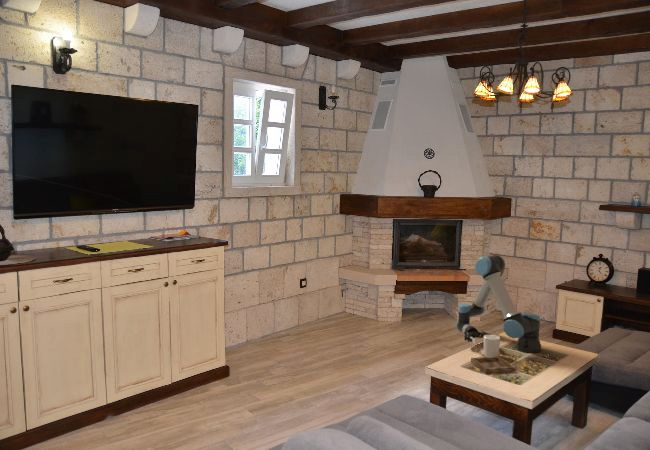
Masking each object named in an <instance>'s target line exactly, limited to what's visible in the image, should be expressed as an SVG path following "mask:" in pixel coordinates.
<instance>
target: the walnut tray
mask: <svg viewBox="0 0 650 450" xmlns="http://www.w3.org/2000/svg"><path fill="white" fill-rule="evenodd" d="M470 363H471V364H472V365H473V366H475V367H476V368H478V369H479V370H480V371H482V372H483V373H484V374H486V375H487V374H498V373H499V374H500V373H502V374H503V373H513V372H516V366H514V365H513V364H511V363H509V362H508V361H507V360H506V359H504V358H503V357H501V356H499V355H498V356H495V357H485V356H481V357H479V356H478V357H471V358H470Z"/></svg>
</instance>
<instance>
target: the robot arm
mask: <svg viewBox="0 0 650 450" xmlns="http://www.w3.org/2000/svg"><path fill="white" fill-rule="evenodd" d="M505 268H506V262H505V260H504V258H503V257H502V256H501V255H498V254H493V255H485V256H482V257H479V258H478V259H477V260H476V261H475V264H474V269H475V271H476V273H477V275H480V276H482V278H483V282H482V284H481V286H480V287H479V290H478V293H477V295H476V297H475V299H474V301H473V303H472V304H471V305H470V304H469V303H460V304H459V306H458V320H457V321H456V323H455V328H456V330H457V331H458V332H460V333H462V334H463V337H464V339H463V340H464V341H466V342H467V343H469V342H471V343H472V344H473V345H476V343H477V341H476V338H477V339H478V338H479V339H481V338H483V336H484V335H493V334H491V333H489V332H485V331H478V329H477V328H476V327H474V326H473V325H471V324H470V323H471V322H470V321H471V318H472V317H476V316H481V315H483V314H484V313H485V305H486V303H487V301H488V300H489V297H490V296H491V294H493V295H494V299H495V301H496V302H497V304H498V307H499V309H500V311H501V313H502V315H503V317H502V321H503V324H502V325H503V326H502V328H503V329H502V330H503V332H504V333H505V335H506V336H507V337H509V338H512V339H517V341H516V343H515V348H516V349H517V350H518V351H520V352H524V353H530V354H537V353H540V352H542V344H541V341H540V326H541V325H540V322H541V318H540V315H539V314H536V313H532V312H523V311H522V312H521V311H518V310H517V308H516V306H515V304H514V302H513V299H512V298H511V296H510V294H509V292H508V289H507V287H506V286H505V283H504V281H503V279H502V276H503V274H504V272H505Z"/></svg>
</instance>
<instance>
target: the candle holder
mask: <svg viewBox="0 0 650 450" xmlns="http://www.w3.org/2000/svg"><path fill="white" fill-rule="evenodd" d="M500 340H501V337H500V336H498V335H496V334H492V335H484V336H483V357H495V356H499V353H500V352H499V351H500V344H501V343H500Z"/></svg>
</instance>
